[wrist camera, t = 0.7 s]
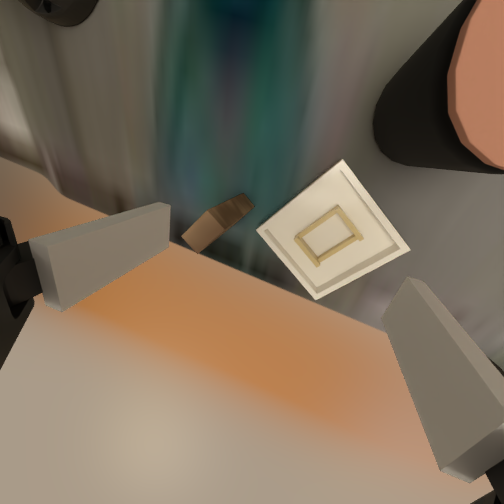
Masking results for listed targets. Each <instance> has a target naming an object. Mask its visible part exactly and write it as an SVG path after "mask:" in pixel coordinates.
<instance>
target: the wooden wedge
mask: <svg viewBox="0 0 504 504" xmlns="http://www.w3.org/2000/svg"><path fill="white" fill-rule="evenodd" d="M254 207H255V206H254V205H253V204H252V203H251V201H250V200H249V199H248V198H247V197H246V195H245V194H244V193H242V194H240V195H238V196H236V197H234V198H232V199H230V200H228V201H225V202H223V203H221V204H219V205H217V206H215V207H213V208H211V209H209V210H207V211H206V212H205V213H204V214H203V215H202V216H201V217H200V218H199V219H198V220H197V221H196V222H195V223H194V224H193V225H192V226H191V227H190V228H189V229H188V230H187V231H186V232H185V233H184V234H183V235H182V238H183V239H184V240H185V241H186V242H187V243H188V244H189V245H190V246H191V247H192V249H193V250H194V251H195V252H196V253H197V254H198V253H199V252H201V251H202V250H203V249H204V248H206V247H207V246H208V245H209V244H211V243H212V242H213V241H214V240H216V239H217V238H218V237H219V236H221V235H222V234H223V233H224V232H226V231H227V230H228V229H229V228H231V227H232V226H233V225H234V224H236V223H237V222H238V221H239V220H240V219H241V218H242V217H243V216H245V215H246V214H247V213H248V212H249V211H250V210H251V209H253V208H254Z"/></svg>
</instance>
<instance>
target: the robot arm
mask: <svg viewBox="0 0 504 504" xmlns="http://www.w3.org/2000/svg"><path fill="white" fill-rule="evenodd" d="M18 1H20V2H21V3H22V4H23V5H24V6H25V7H27V8H28V9H29V10H31V11H32V12H34V13H35V14H37V15H39V16H41V17H43V18H45V19H47V20H49V21H51V22H53V23H55V24H58V25H61V26H72V25H76V24H78V23H80V22H81V21H83V20H84V19H85V18H86V17H87V16H88V15H89V14H90V12H91V11H92V9H93V7H94V5H95V3H96V1H97V0H18ZM170 208H171V205H168V204H164V203H161V202H157V203H153V204H150V205H147V206H143V207H140V208H136V209H133V210H129V211H126V212H122V213H119V214H115V215H112V216H108V217H105V218H102V219H98V220H95V221H91V222H88V223H84V224H81V225H77V226H74V227H70V228H67V229H63V230H60V231H57V232H53V233H50V234H46V235H43V236H39V237H36V238H32V239H29V240H28V241H27V242H24V243H20V244H17V241H16V238H15V234H14V231H13V228H12V224H11V221H10V220H9V219H8V218H4V217H1V216H0V369H1V367H2V366H3V364H4V362H5V360H6V358H7V356H8V354H9V352H10V350H11V348H12V346H13V344H14V343H15V341H16V339H17V337H18V335H19V333H20V331H21V329H22V328H23V326H24V324H25V322H26V320H27V318H28V316H29V314H30V312H31V310H32V309H33V307H34V299H33V297H34V296H36V295H38V294H40V293H43V297H44V301H45V304H46V306H49V307H51V308H53V309H56V310H58V311H61V312H63V311H65V310H66V309H68V308H70V307H71V306H73V305H75V304H76V303H78V302H79V301H81V300H83V299H85V298H86V297H88V296H89V295H91V294H93V293H94V292H96V291H98V290H99V289H101V288H103V287H104V286H106V285H108V284H109V283H111V282H112V281H114V280H116V279H117V278H119V277H121V276H122V275H124V274H126V273H127V272H129V271H130V270H132V269H134V268H135V267H137V266H138V265H140V264H142V263H144V262H145V261H147V260H148V259H150V258H152V257H153V256H155V255H157V254H158V253H160V252H162V251H163V250H165V249H166V248H168V247H169V230H170ZM381 319H382V322H383V324H384V327H385V329H386V332H387V334H388V337H389V339H390V342H391V345H392V347H393V350H394V353H395V355H396V358H397V360H398V363H399V366H400V368H401V371H402V373H403V376H404V379H405V381H406V383H407V386H408V388H409V391H410V394H411V397H412V399H413V402H414V404H415V407H416V410H417V412H418V415H419V417H420V420H421V422H422V425H423V428H424V430H425V433H426V435H427V438H428V441H429V443H430V446H431V449H432V451H433V454H434V456H435V459H436V462H437V464H438V467H439V469H440V471H442V472H444V473H447V474H449V475H451V476H454V477H456V478H458V479H461V480H463V481H466V482H468V483H471V482H472V481H474V480H476V479H477V478H479V477H480V476H482V475H483V474H485V473H486V475H487V477H488V479H489V481H490V483H491V485H492V487H493V489H494V490H493V491H491V492H490V493H488V494H486V495H484V496H483V497H481V498H479V499H477V500H476V501H474V502H472V503H471V504H504V371H503V370H502V369H501V368H500V367H499V366H498V365H496V364H495V363H494V362H493V361H492V360H491V359H489V358H488V357H487V356H486V355H485V354H484V353H483V352H482V351H481V349H480V348H479V347H478V346H477V345H476V343H475V342H474V341H473V340H472V339H471V337H470V336H469V335H468V334H467V333H466V331H465V330H464V329H463V328H462V327H461V325H460V324H459V323H458V322H457V321H456V320H455V318H454V317H453V316H452V315H451V314H450V312H449V311H448V310H447V309H446V308H445V306H444V305H443V304H442V303H441V302H440V300H439V299H438V298H437V297H436V296H435V294H434V293H433V292H432V291H431V290H430V288H429V287H428V286H427V285H426V284H425V282H424V281H421V280H417V279H414V278H411V277H406V279H405V281H404V282H403V284H402V285H401V287H400V289H399V290H398V292H397V293H396V295H395V297H394V298H393V300H392V301H391V303H390V305H389V306H388V308H387V309H386V311H385V313H384V314H383V316H382V317H381Z"/></svg>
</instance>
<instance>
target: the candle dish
mask: <svg viewBox="0 0 504 504" xmlns="http://www.w3.org/2000/svg"><path fill="white" fill-rule="evenodd" d="M256 231H257V232H258V233H259V234H260V236H261V237H262V238H263V239H264V240H265V241H266V243H267V244H268V245H269V246H270V247H271V248H272V250H273V251H274V252H275V253H276V254H277V256H278V257H279V258H280V259H281V260H282V261H283V263H284V264H285V265H286V266H287V267H288V268H289V270H290V271H291V272H292V273H293V274H294V276H295V277H296V278H297V279H298V280H299V281H300V283H301V284H302V285H303V286H304V287H305V288H306V290H307V291H308V292H309V293H310V294H311V295H312V297H313V298H314V299H315V300H317V299H319V298H321V297H323V296H325V295H327V294H329V293H330V292H332V291H334V290H336V289H338V288H340V287H342V286H344V285H346V284H347V283H349V282H351V281H353V280H355V279H357V278H359V277H361V276H363V275H364V274H366V273H368V272H370V271H372V270H374V269H376V268H378V267H379V266H381V265H383V264H385V263H387V262H389V261H391V260H393V259H395V258H396V257H398V256H400V255H402V254H404V253H406V252H408V251H410V248H409V247H408V246H407V244H406V243H405V242H404V240H403V239H402V238H401V236H400V235H399V234H398V232H397V231H396V230H395V228H394V227H393V226H392V224H391V223H390V222H389V220H388V219H387V218H386V216H385V215H384V214H383V212H382V211H381V210H380V208H379V207H378V206H377V204H376V203H375V202H374V200H373V199H372V198H371V196H370V195H369V194H368V192H367V191H366V190H365V188H364V187H363V186H362V184H361V183H360V182H359V180H358V179H357V178H356V176H355V175H354V174H353V172H352V171H351V170H350V168H349V167H348V166H347V164H346V163H345V162H344V160H343V159H340V160H339V161H338V162H337V163H336V164H334V165H333V166H332V167H331V168H329V169H328V170H327V171H326V172H325V173H323V174H322V175H321V176H320V177H319V178H317V179H316V180H315V181H314V182H312V183H311V184H310V185H309V186H308V187H306V188H305V189H304V190H303V191H301V192H300V193H299V194H298V195H297V196H295V197H294V198H293V199H292V200H290V201H289V202H288V203H287V204H286V205H284V206H283V207H282V208H281V209H279V210H278V211H277V212H276V213H275V214H273V215H272V216H271V217H270V218H269V219H267V220H266V221H265V222H264V223H262V224H261V225H260V226H259V227H258V228H257V230H256Z"/></svg>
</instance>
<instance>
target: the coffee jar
mask: <svg viewBox="0 0 504 504" xmlns="http://www.w3.org/2000/svg"><path fill="white" fill-rule="evenodd" d="M373 125H374V133H375V139H376V141H377V143H378V145H379V147H380V149H381V151H382V152H383V153H384V154H386V155H387V156H388V157H389V158H390V159H391V160H393V161H395V162H398V163H401V164H404V165H407V166H416V167H426V168H436V169H446V170H457V171H467V172H477V173H487V174H504V0H463V1H462V2H461V3H460V4H459V5H458V6H457V7H456V8H455V9H454V11H453V12H452V13H451V14H450V15H449V16H448V17H447V18H446V19H445V20H444V21H443V23H442V24H441V25H440V26H439V27H438V28H437V29H436V30H435V31H434V32H433V33H432V35H431V36H430V37H429V38H428V39H427V40H426V41H425V42H424V43H423V44H422V45H421V47H420V48H419V49H418V50H417V51H416V52H415V53H414V54H413V55H412V56H411V57H410V59H409V60H408V61H407V62H406V63H405V64H404V65H403V66H402V67H401V68H400V69H399V71H398V72H397V73H396V74H395V75H394V77H393V78H392V79H391V80H390V81H389V83H388V84H387V85H386V86H385V88H384V90H383V92H382V95H381V97H380V99H379V101H378V103H377V105H376V110H375V116H374V121H373Z"/></svg>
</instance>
